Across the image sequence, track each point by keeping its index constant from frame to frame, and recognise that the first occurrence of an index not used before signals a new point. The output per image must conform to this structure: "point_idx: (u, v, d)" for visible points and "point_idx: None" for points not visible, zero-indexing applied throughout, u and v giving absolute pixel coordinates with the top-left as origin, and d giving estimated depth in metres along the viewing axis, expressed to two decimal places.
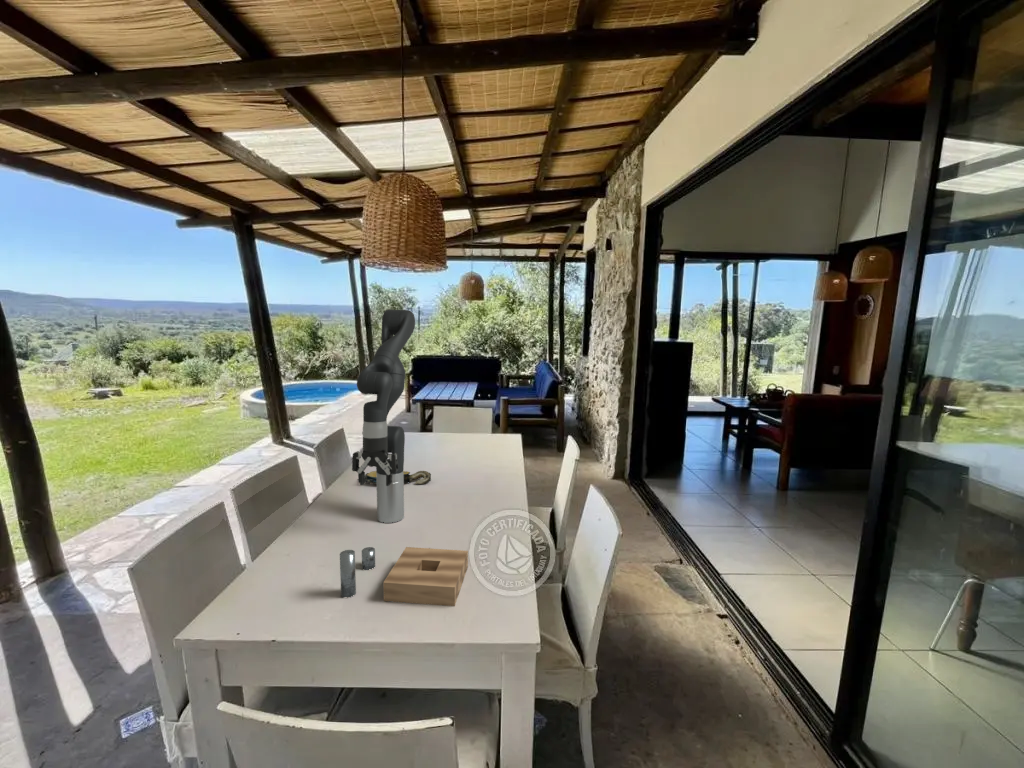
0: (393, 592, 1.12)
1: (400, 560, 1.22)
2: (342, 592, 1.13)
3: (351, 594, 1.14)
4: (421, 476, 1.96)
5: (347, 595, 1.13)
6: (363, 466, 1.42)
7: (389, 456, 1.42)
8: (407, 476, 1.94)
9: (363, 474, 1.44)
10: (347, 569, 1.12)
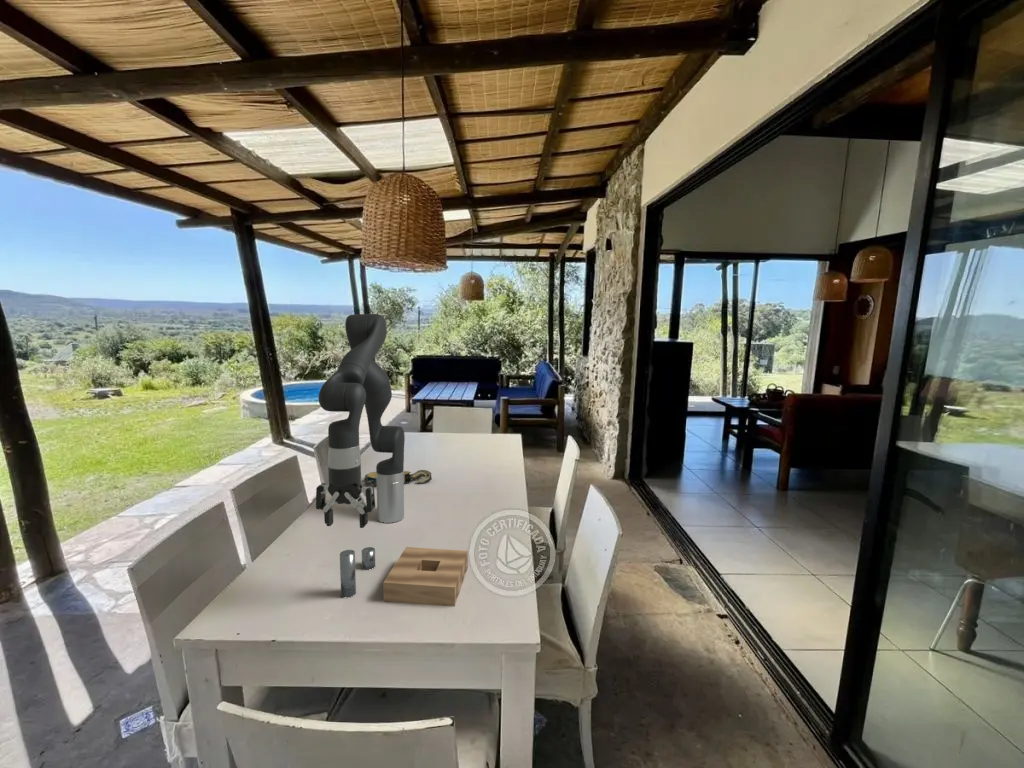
0: (393, 592, 1.12)
1: (400, 560, 1.22)
2: (342, 592, 1.13)
3: (351, 594, 1.14)
4: (421, 475, 1.97)
5: (347, 595, 1.13)
6: (330, 503, 1.10)
7: (363, 490, 1.10)
8: (408, 476, 1.95)
9: (331, 512, 1.12)
10: (347, 569, 1.12)
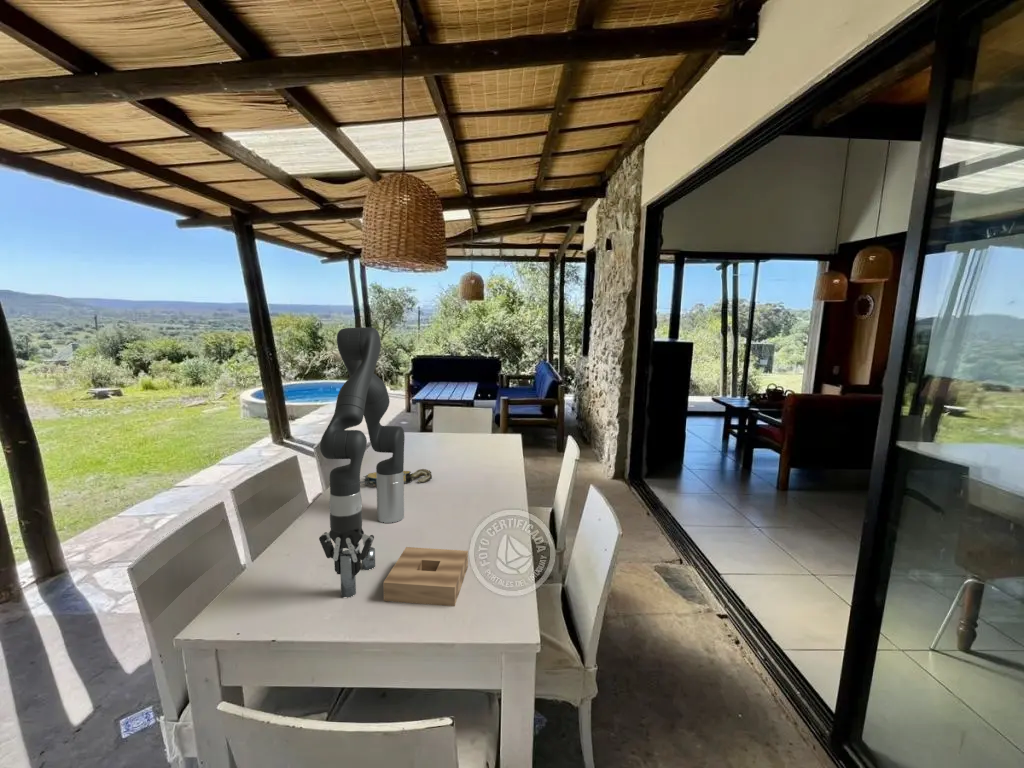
0: (393, 592, 1.12)
1: (400, 560, 1.22)
2: (342, 592, 1.13)
3: (351, 594, 1.14)
4: (422, 474, 1.98)
5: (347, 595, 1.13)
6: (336, 551, 1.12)
7: (363, 538, 1.12)
8: (408, 475, 1.95)
9: None
10: (347, 569, 1.12)
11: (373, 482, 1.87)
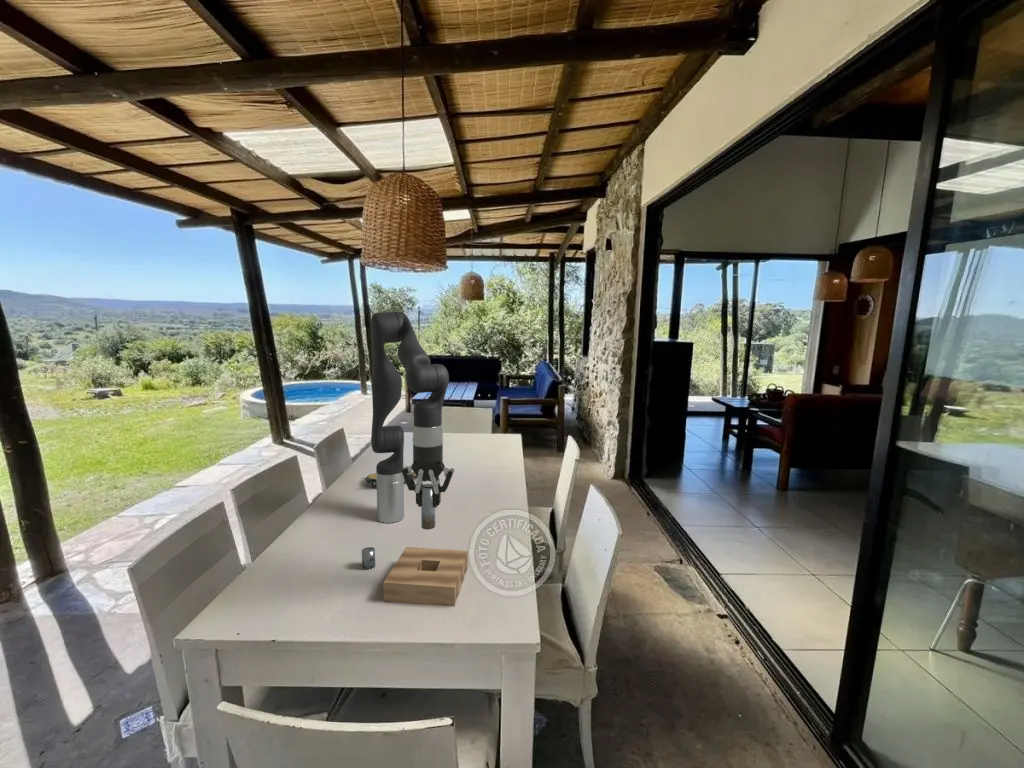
0: (393, 592, 1.12)
1: (400, 560, 1.22)
2: (423, 524, 1.17)
3: (432, 526, 1.17)
4: None
5: (428, 527, 1.16)
6: (419, 483, 1.15)
7: (445, 471, 1.15)
8: None
9: None
10: (429, 501, 1.16)
11: (376, 483, 1.86)
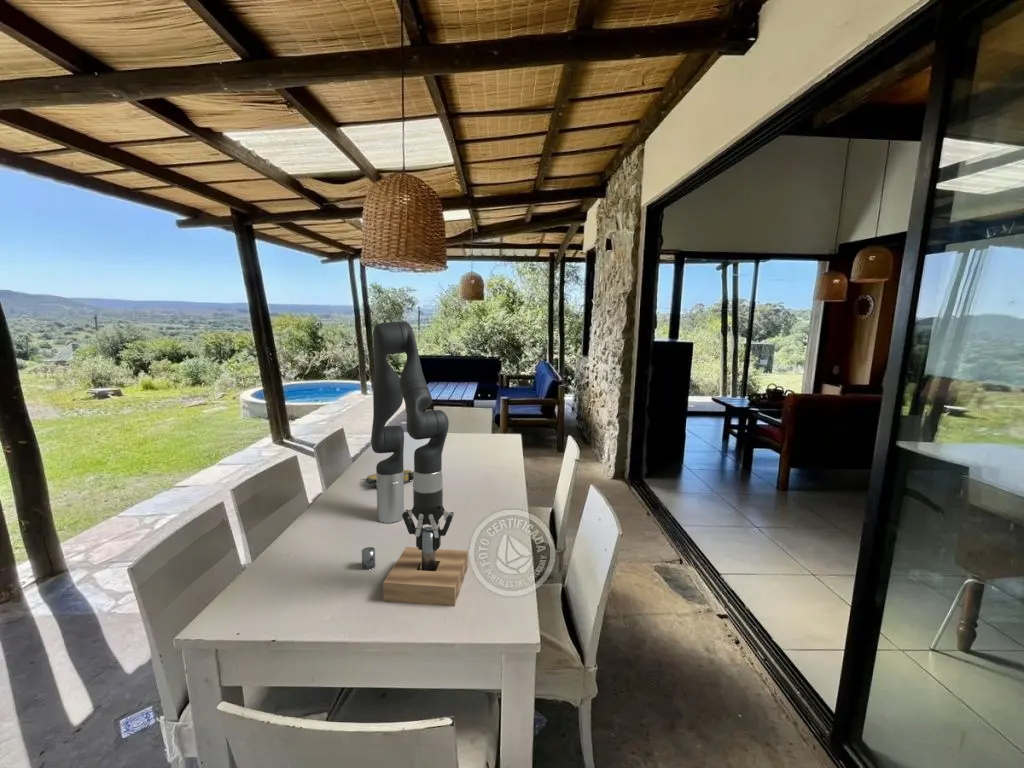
0: (393, 592, 1.12)
1: (400, 560, 1.22)
2: (423, 567, 1.18)
3: (432, 569, 1.18)
4: None
5: (428, 570, 1.18)
6: (419, 527, 1.17)
7: (445, 515, 1.17)
8: (409, 474, 1.97)
9: None
10: (429, 545, 1.17)
11: None
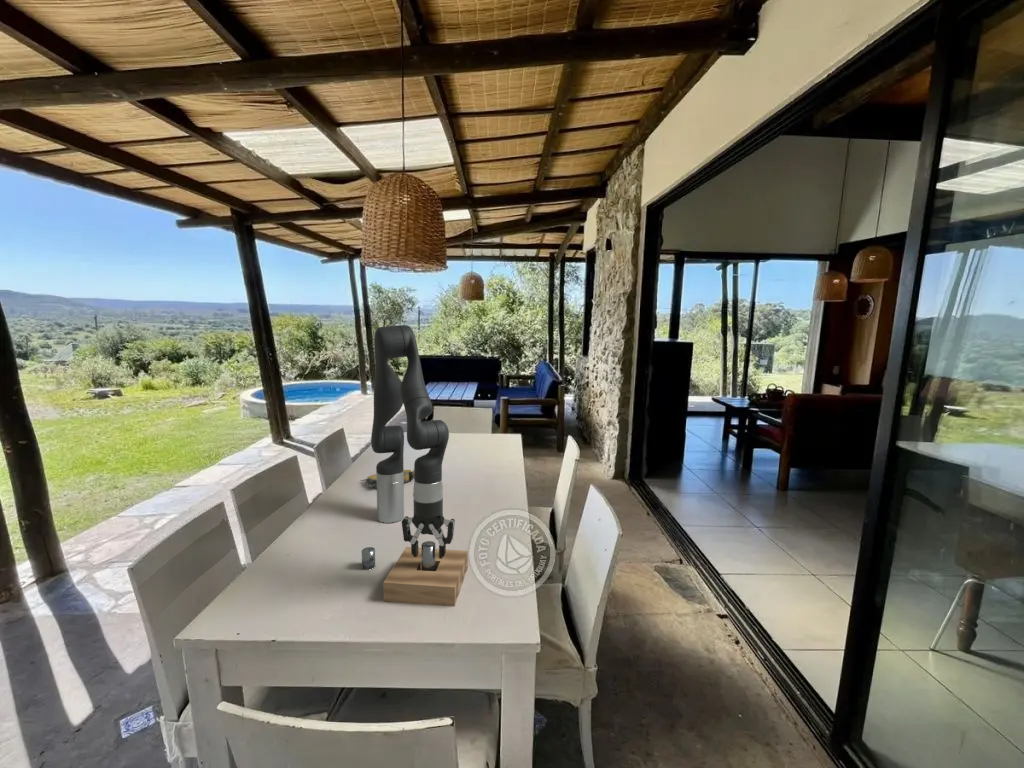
0: (393, 592, 1.12)
1: (400, 560, 1.22)
2: None
3: None
4: None
5: None
6: (416, 535, 1.17)
7: (445, 523, 1.17)
8: (409, 474, 1.97)
9: (417, 544, 1.19)
10: (429, 559, 1.18)
11: None
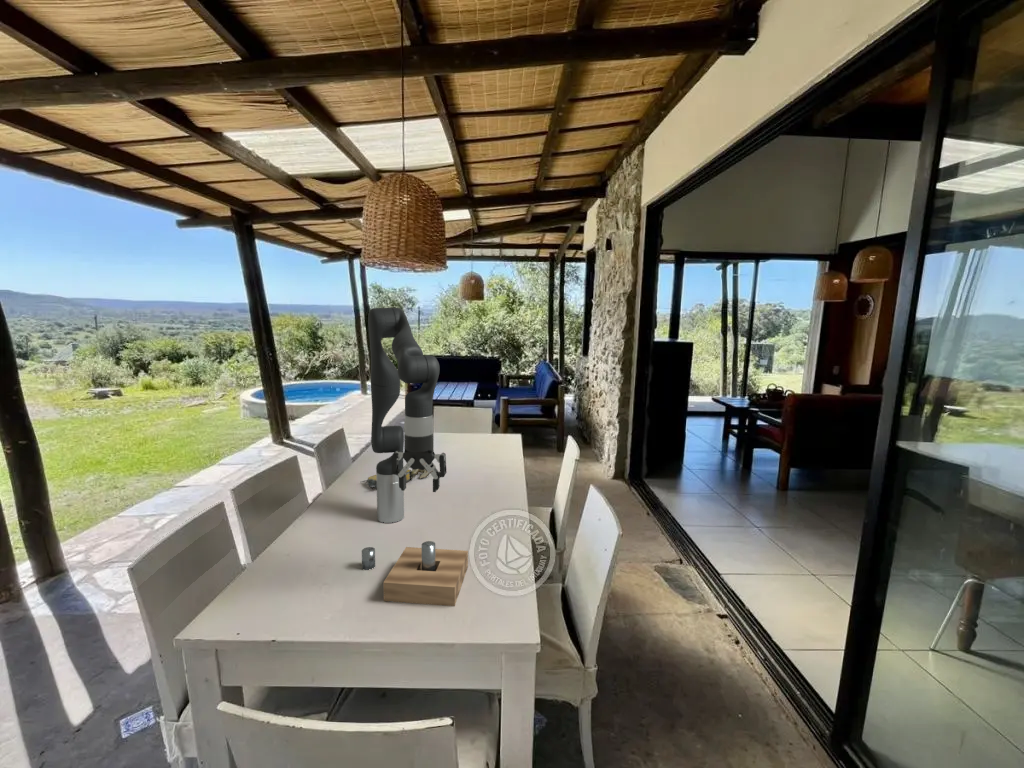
0: (393, 592, 1.12)
1: (400, 560, 1.22)
2: None
3: None
4: (419, 471, 2.03)
5: None
6: (405, 469, 1.18)
7: (436, 457, 1.18)
8: (409, 473, 1.98)
9: (404, 478, 1.20)
10: (429, 559, 1.18)
11: None
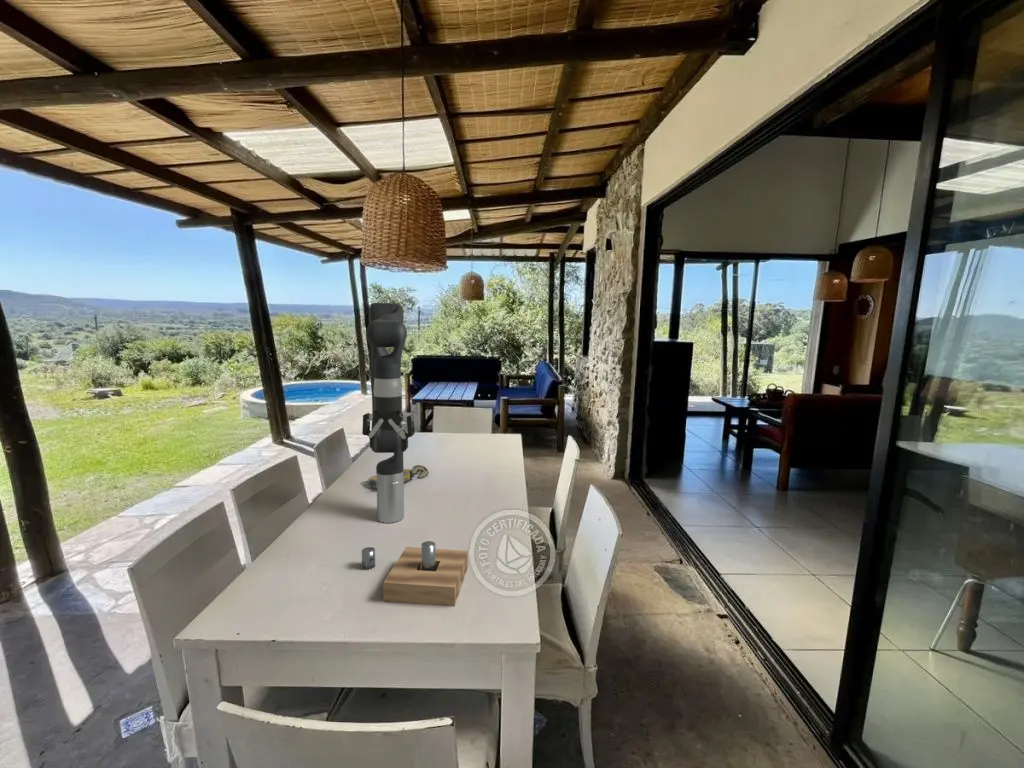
0: (393, 592, 1.12)
1: (400, 560, 1.22)
2: None
3: None
4: (418, 470, 2.04)
5: None
6: (375, 429, 1.25)
7: (404, 418, 1.25)
8: (409, 473, 1.98)
9: (375, 439, 1.27)
10: (429, 559, 1.18)
11: None
